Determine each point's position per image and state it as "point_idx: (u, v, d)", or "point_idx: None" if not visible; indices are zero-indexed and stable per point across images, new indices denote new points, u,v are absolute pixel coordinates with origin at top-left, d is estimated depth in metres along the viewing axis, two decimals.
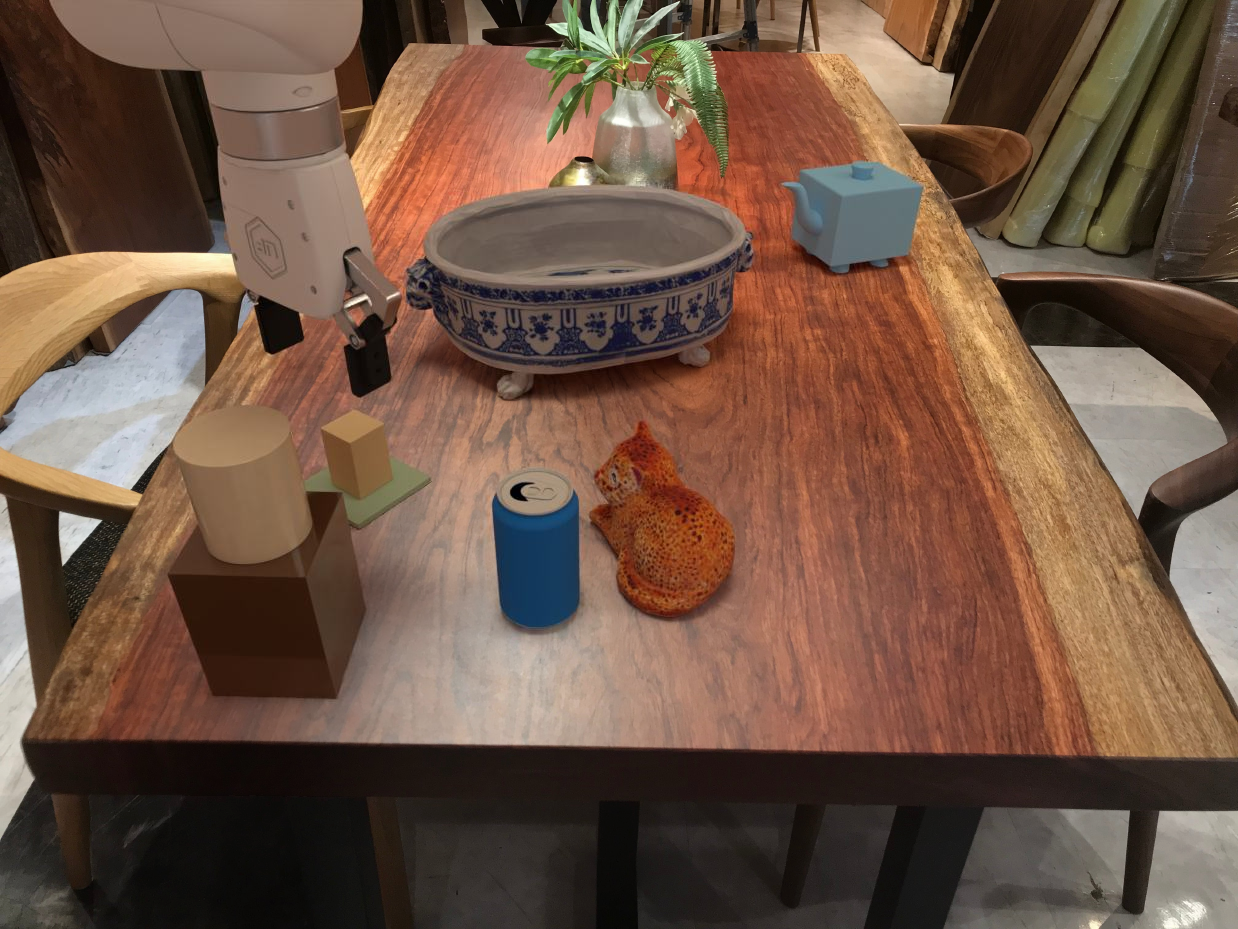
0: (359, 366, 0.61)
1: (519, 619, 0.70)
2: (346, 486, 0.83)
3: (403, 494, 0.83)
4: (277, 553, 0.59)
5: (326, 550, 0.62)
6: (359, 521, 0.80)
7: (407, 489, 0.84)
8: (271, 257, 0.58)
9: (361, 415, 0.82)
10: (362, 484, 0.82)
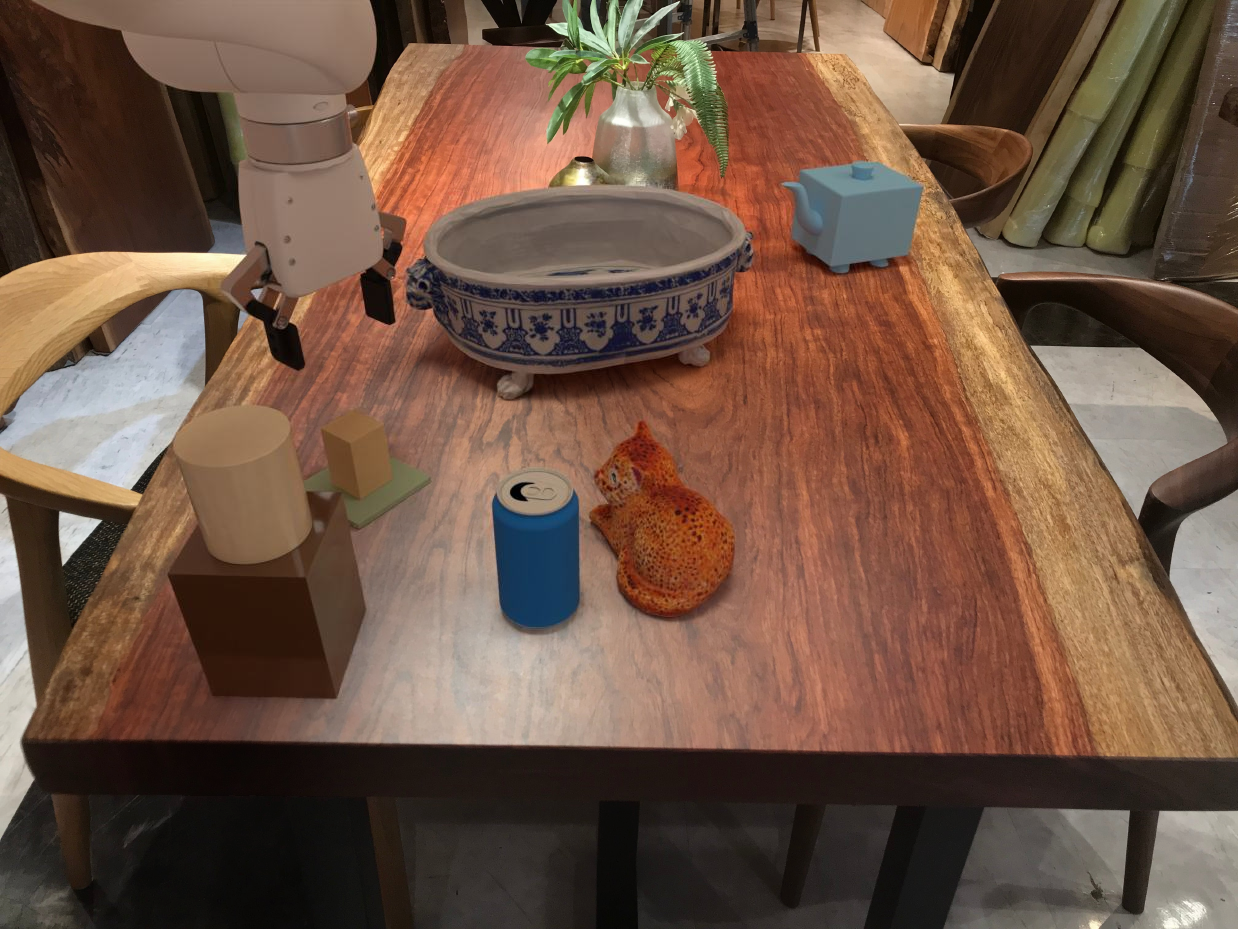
0: None
1: (519, 619, 0.70)
2: (346, 486, 0.83)
3: (403, 494, 0.83)
4: (277, 553, 0.59)
5: (326, 550, 0.62)
6: (359, 521, 0.80)
7: (407, 489, 0.84)
8: None
9: (361, 415, 0.82)
10: (362, 484, 0.82)
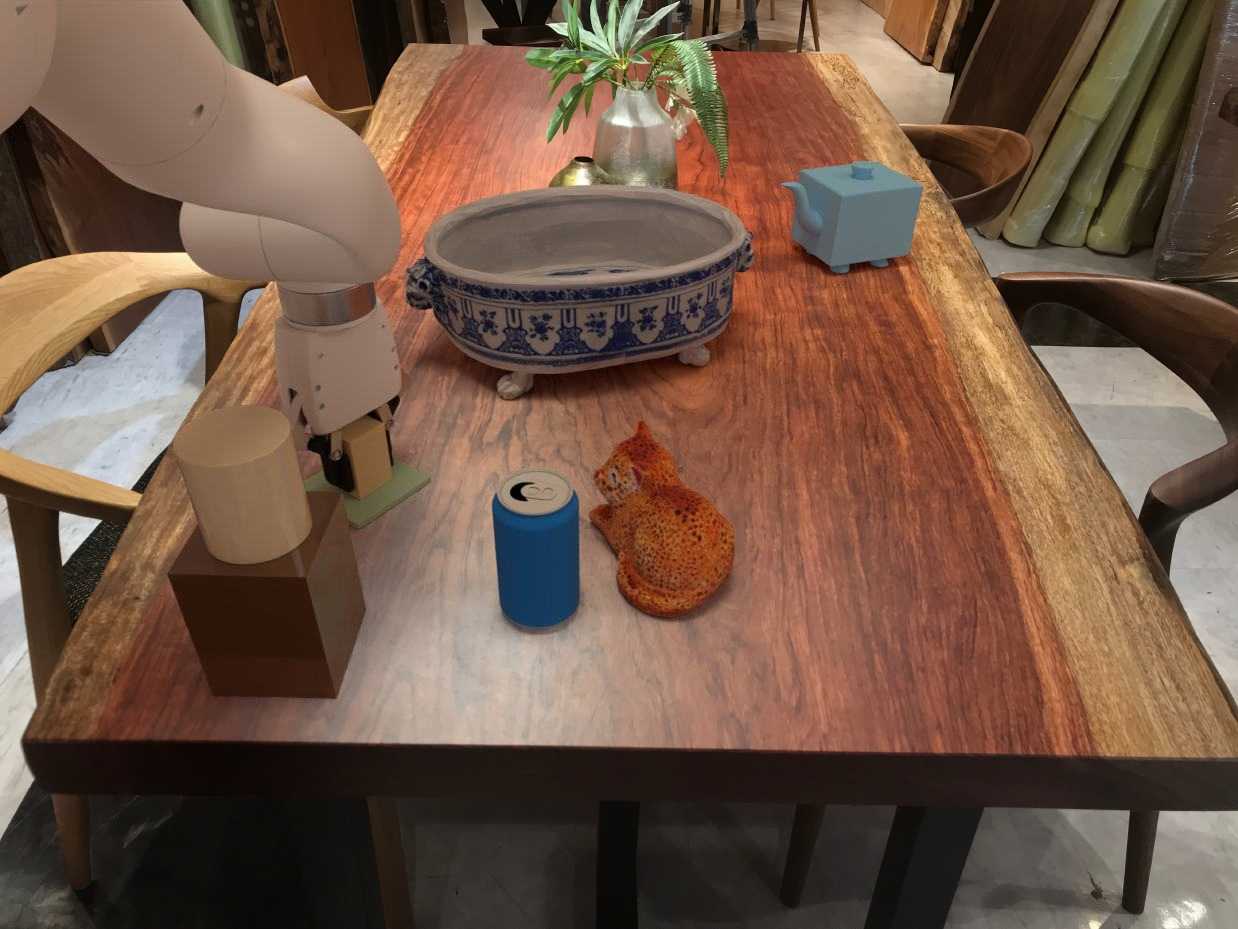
0: None
1: (519, 619, 0.70)
2: None
3: (403, 494, 0.83)
4: (277, 553, 0.59)
5: (326, 550, 0.62)
6: (359, 521, 0.80)
7: (407, 489, 0.84)
8: None
9: None
10: (362, 484, 0.82)
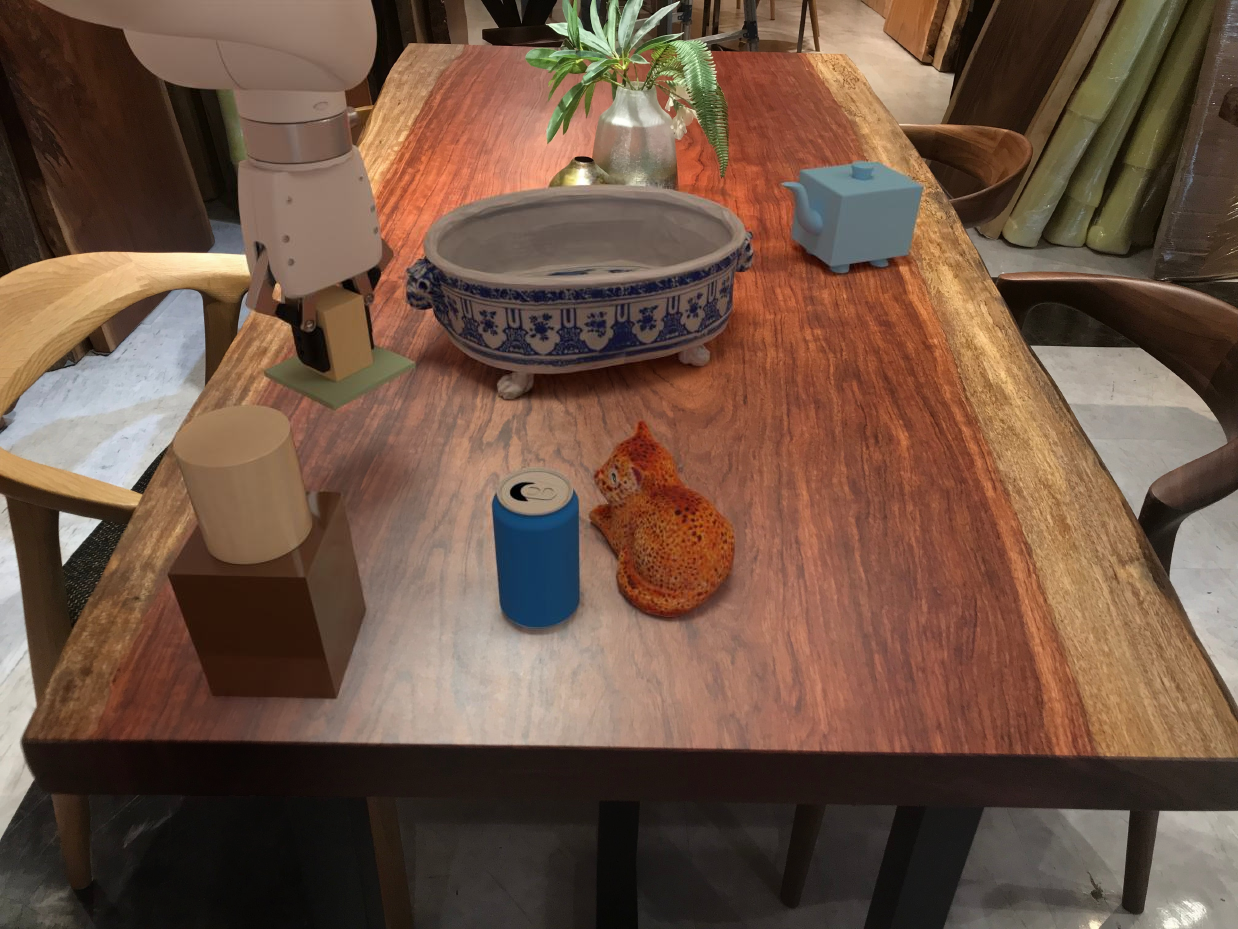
0: None
1: (519, 619, 0.70)
2: None
3: (384, 377, 0.75)
4: (277, 553, 0.59)
5: (326, 550, 0.62)
6: (334, 401, 0.72)
7: (388, 373, 0.76)
8: None
9: (338, 288, 0.75)
10: (338, 363, 0.74)
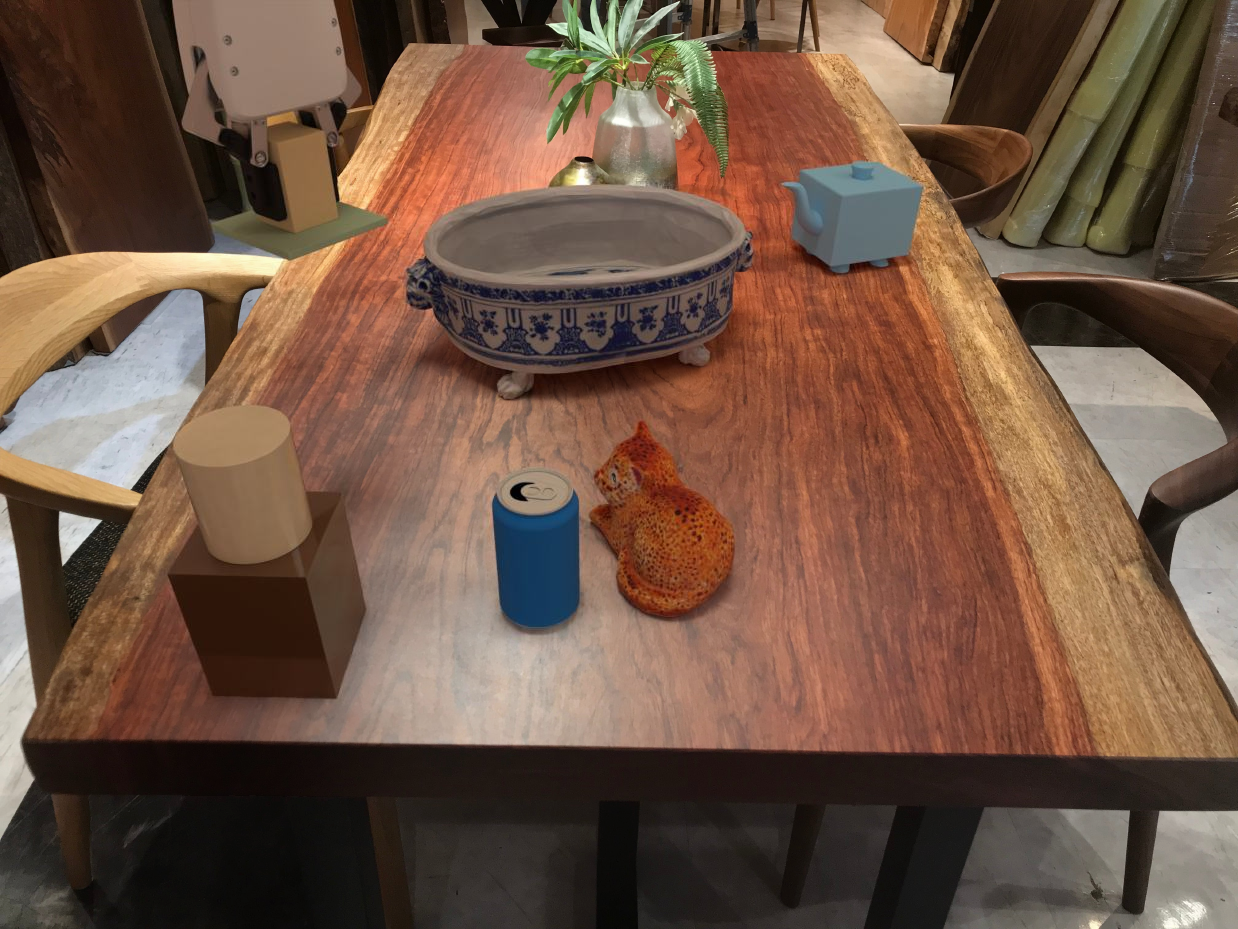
0: None
1: (519, 619, 0.70)
2: None
3: (351, 230, 0.65)
4: (277, 553, 0.59)
5: (326, 550, 0.62)
6: (291, 250, 0.62)
7: (355, 226, 0.66)
8: None
9: (296, 125, 0.64)
10: (297, 211, 0.64)
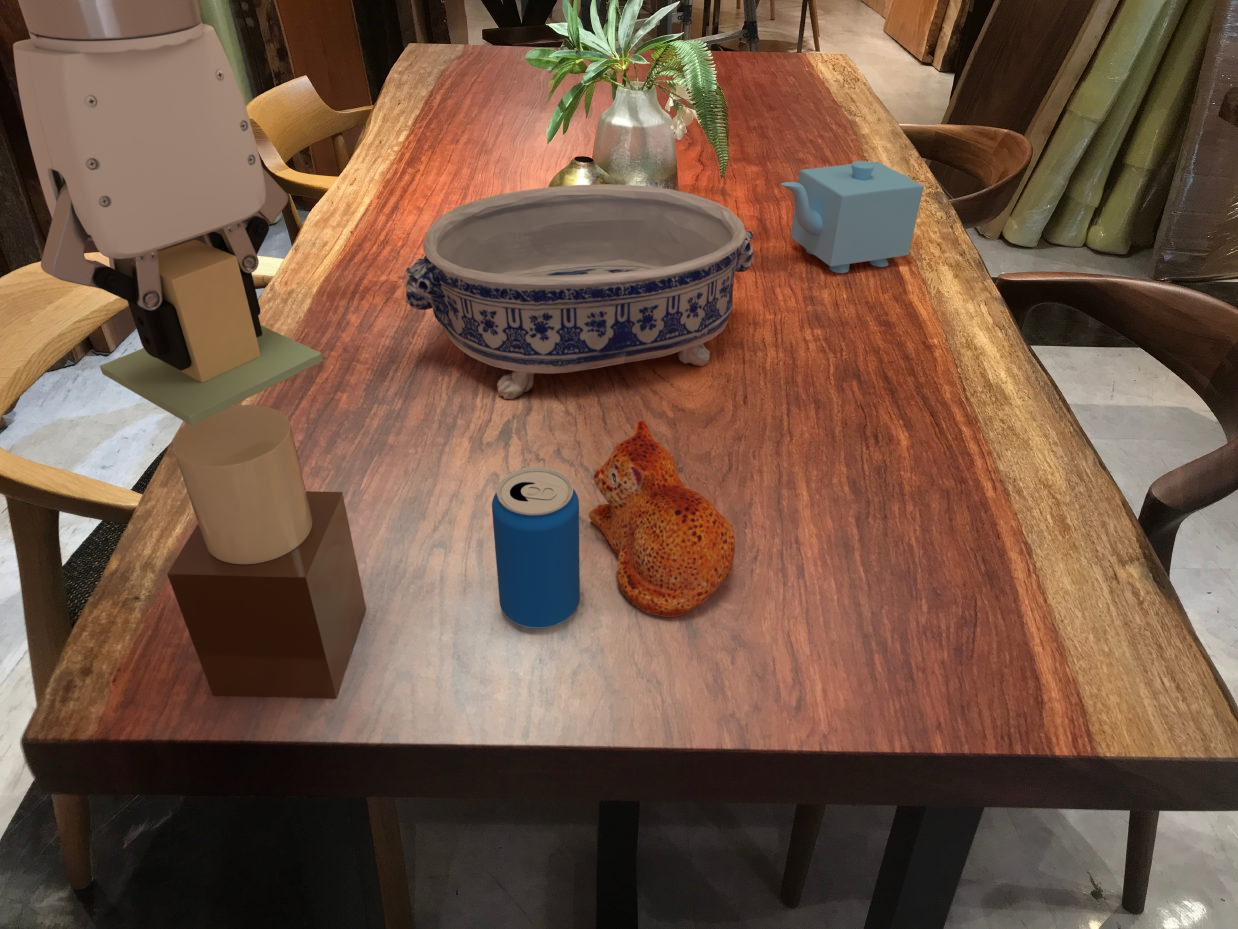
0: None
1: (519, 619, 0.70)
2: None
3: (273, 376, 0.52)
4: (277, 553, 0.59)
5: (326, 550, 0.62)
6: (192, 412, 0.49)
7: (280, 370, 0.53)
8: None
9: (203, 246, 0.51)
10: (203, 356, 0.51)
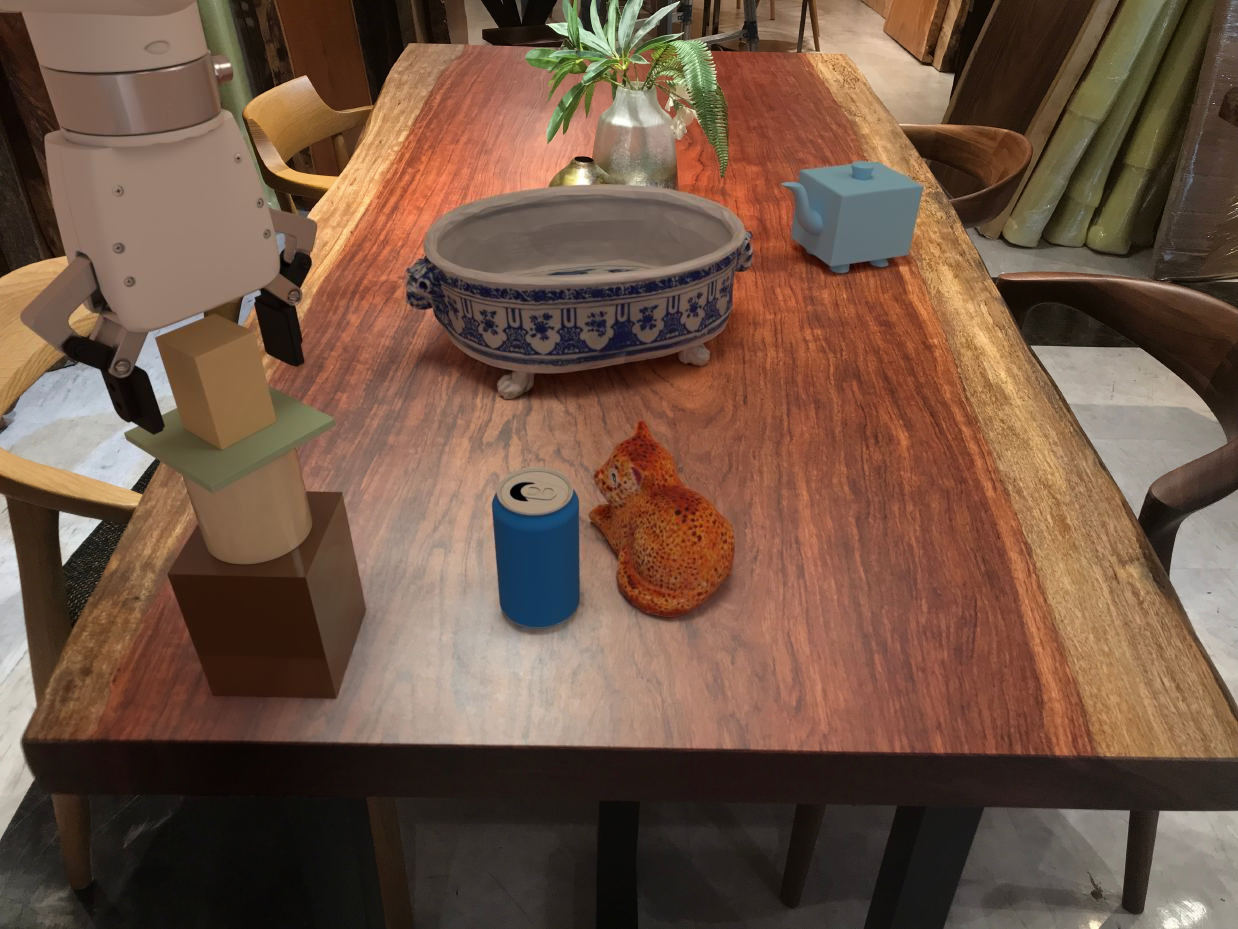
0: None
1: (519, 619, 0.70)
2: (201, 430, 0.54)
3: (289, 443, 0.55)
4: (277, 553, 0.59)
5: (326, 550, 0.62)
6: (213, 481, 0.52)
7: (295, 436, 0.55)
8: None
9: (222, 321, 0.54)
10: (223, 425, 0.54)
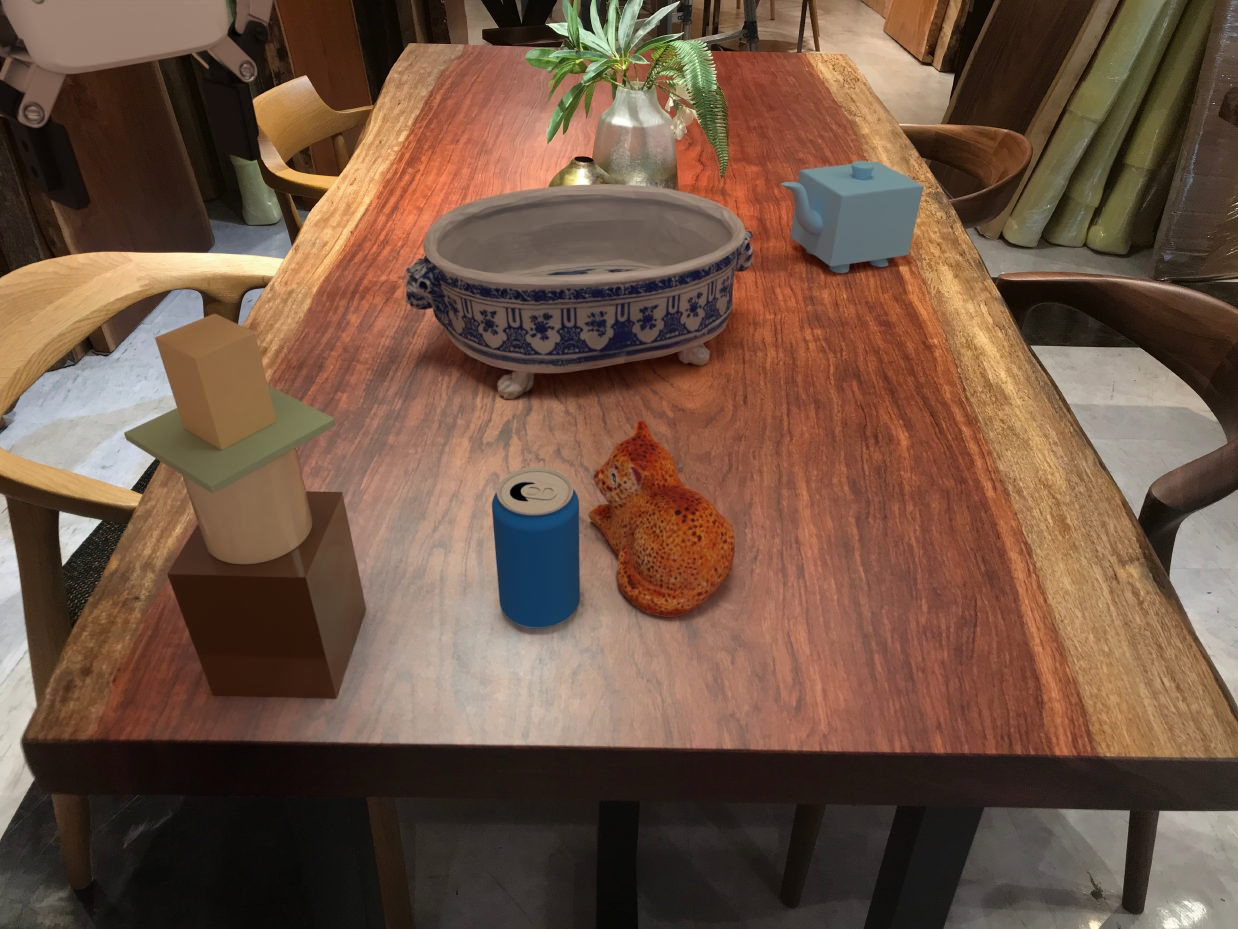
0: None
1: (519, 619, 0.70)
2: (201, 430, 0.54)
3: (289, 443, 0.55)
4: (277, 553, 0.59)
5: (326, 550, 0.62)
6: (213, 481, 0.52)
7: (295, 436, 0.55)
8: None
9: (222, 321, 0.54)
10: (223, 425, 0.54)
